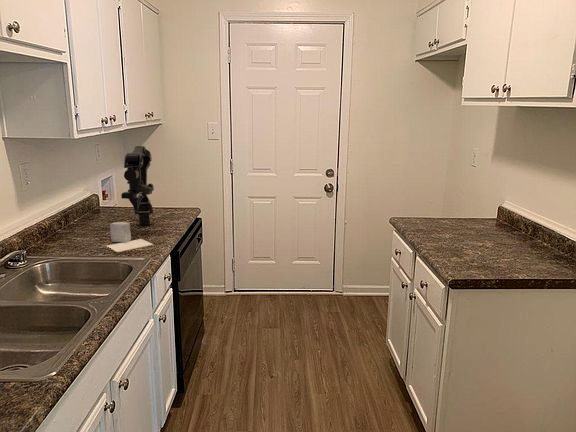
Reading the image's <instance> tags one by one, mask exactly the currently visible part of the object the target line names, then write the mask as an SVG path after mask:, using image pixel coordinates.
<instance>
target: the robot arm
mask: <svg viewBox="0 0 576 432" xmlns="http://www.w3.org/2000/svg"><path fill="white" fill-rule="evenodd" d="M151 162H152V154H151V151H150V150H148V149H147V148H146V146H144V145H137V146H135V147H134V149H133V151H132V152H128V153H126V155H125V156H124V165H123V168H124V169H126V170H125V171H124V173H123V177H124V179H125V180H126V181H127V182H126V183H127V185H128V188H129V189H128V190H127V191H123V192H122V193H121V195H120V197H121V199H123V200H124V199H125V200H127V199H128V200H129V202H130V204H131V205H132V207H133V211H134V215H138V217H137V218H138V222H136V223H135V224H136V225H137V226H140V227H145V226H152V225H153V222H151V221H150V220H151V219H150V215H151V214H154V208H153V205H152V202H151V200H150V198H149V197H148V195H152V194H153V191H154V190H155V188H154V184H152V183H148V170H149V168H150V167H151Z"/></svg>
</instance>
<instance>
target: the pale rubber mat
mask: <svg viewBox="0 0 576 432" xmlns="http://www.w3.org/2000/svg"><path fill="white" fill-rule="evenodd" d="M106 246H107V247H106V248H108V247H109V248H108V249H110V248H111V249H110V250H112V251H114V252H115V253H120V252H121V253H122V252H126V251H130V250H135V249H140V248H145V247H150V246H154V243H151V242H149V241H146V240H145V239H143V238H139V239H135V240H134V239H133V240H130V241H128V242H117V243H113V244H109V245H106Z"/></svg>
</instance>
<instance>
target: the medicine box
mask: <svg viewBox="0 0 576 432" xmlns="http://www.w3.org/2000/svg"><path fill="white" fill-rule="evenodd" d="M109 231H110V239H111V242H114V243H123V242H128V241H132V235H131V225H130V222H124V221H122V222H120V221H117V222H112V223H110V224H109Z"/></svg>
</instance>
